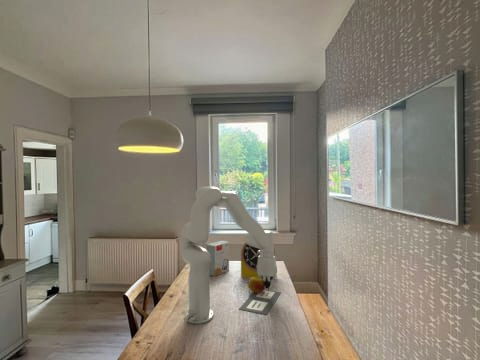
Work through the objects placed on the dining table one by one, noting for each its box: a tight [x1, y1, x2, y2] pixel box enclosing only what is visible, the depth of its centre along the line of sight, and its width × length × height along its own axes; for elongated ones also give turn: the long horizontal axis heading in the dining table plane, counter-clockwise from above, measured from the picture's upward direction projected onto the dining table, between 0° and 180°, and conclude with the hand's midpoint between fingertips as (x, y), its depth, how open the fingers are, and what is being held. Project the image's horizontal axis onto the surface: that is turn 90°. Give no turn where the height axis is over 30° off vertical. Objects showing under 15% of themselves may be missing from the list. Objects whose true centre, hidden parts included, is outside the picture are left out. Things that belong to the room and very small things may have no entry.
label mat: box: [238, 288, 282, 316], centre depth 134 cm, size 26×14×1 cm, turn 157°
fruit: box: [247, 277, 266, 293], centre depth 143 cm, size 10×9×8 cm
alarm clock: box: [240, 241, 276, 282], centre depth 168 cm, size 21×9×26 cm, turn 67°
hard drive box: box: [206, 240, 230, 277], centre depth 177 cm, size 16×8×20 cm, turn 143°
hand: (267, 287), depth 140 cm, fingers closed
